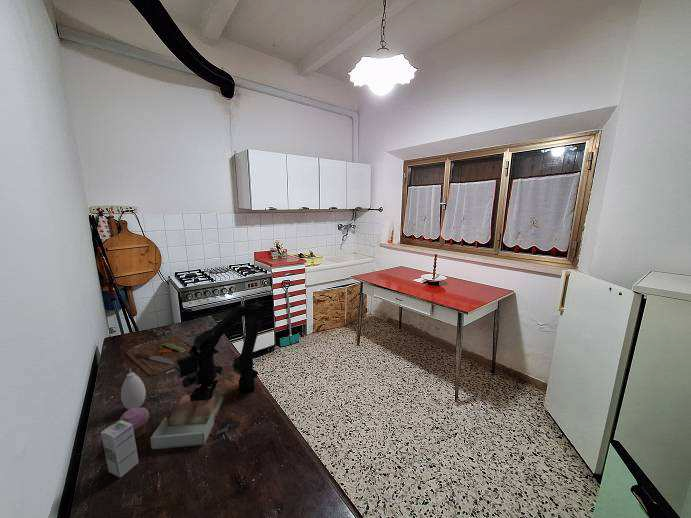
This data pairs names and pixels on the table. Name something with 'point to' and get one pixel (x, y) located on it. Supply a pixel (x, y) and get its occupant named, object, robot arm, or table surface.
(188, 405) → the tile
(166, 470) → the table surface
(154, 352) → the chopping board
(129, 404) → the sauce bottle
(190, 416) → the beige flat panel
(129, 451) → the syrup box
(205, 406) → the tile
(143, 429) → the cupcake
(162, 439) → the tray
